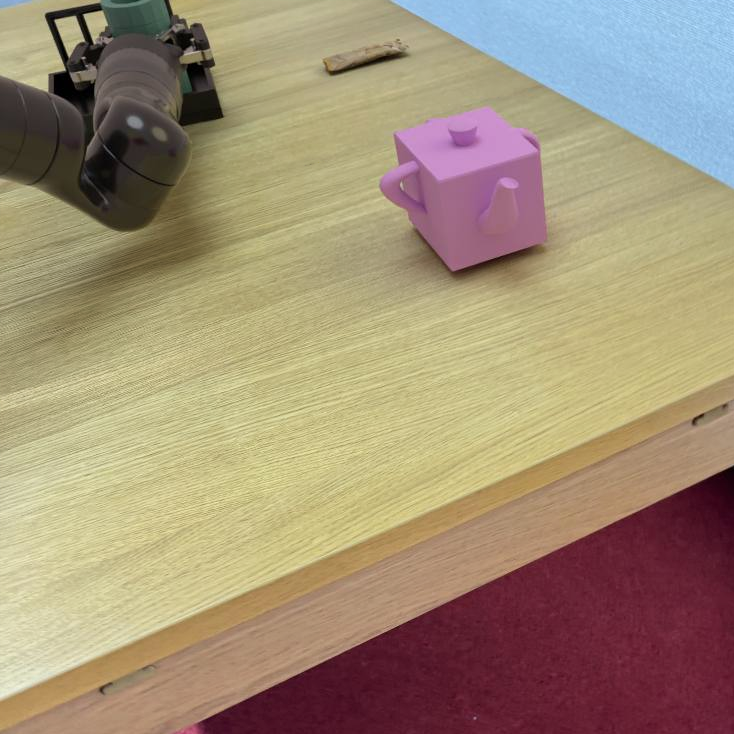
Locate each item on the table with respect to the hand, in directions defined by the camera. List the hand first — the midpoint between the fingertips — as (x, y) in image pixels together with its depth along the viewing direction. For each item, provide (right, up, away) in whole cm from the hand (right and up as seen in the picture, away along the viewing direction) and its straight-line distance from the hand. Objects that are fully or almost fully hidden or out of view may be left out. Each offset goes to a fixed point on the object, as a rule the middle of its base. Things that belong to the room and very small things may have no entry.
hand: (145, 30), depth 109 cm
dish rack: (-3, -6, +5) cm, 8 cm away
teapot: (+36, -28, -20) cm, 50 cm away
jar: (+1, -6, +3) cm, 7 cm away
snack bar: (+22, +1, +9) cm, 24 cm away
